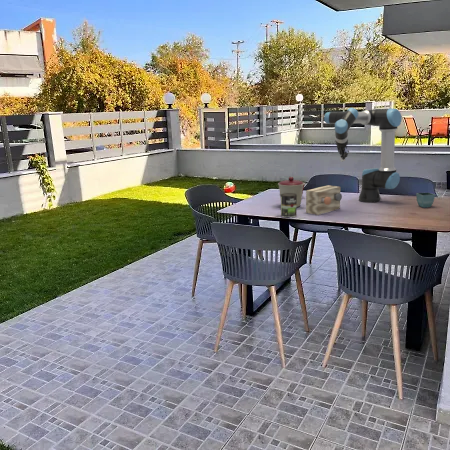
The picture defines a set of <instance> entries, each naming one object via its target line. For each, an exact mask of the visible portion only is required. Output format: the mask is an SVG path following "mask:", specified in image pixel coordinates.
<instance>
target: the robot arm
mask: <svg viewBox="0 0 450 450" xmlns="http://www.w3.org/2000/svg"><path fill="white" fill-rule="evenodd" d="M323 117H324V119H323V120H324V122H325V123H326V124H327V125H328V124H329V125H334V131H335V132H334V133H335V135H334V136H335V145H336V149H337V152H338V153H339V160H340V163H342V162H344V161H346V158H347V157H348V156H349V153H350V151H349V149H348V147H347V146H348V145H349V144H348V143H349V130H350V128H351V126H352V125H354V124H360V125H363V126H364V125H365V126H366V125H367V126H372V127H378V130H379V131H380V132H381V136H380V137H381V139H380V140H381V141H380V142H381V143H380V145H381V146H380V167H375V168H365V169H363V170H362V174H361V190H360V193H359V195H358V201H359V202H361V203H362V202H363V203H379V202H381V195H380V191H379V188H382V189H385V190H394V189H395V188H397V186H398V185H399V183H400V179H401V175H400V173H398V172H397V168H396V167H395V143H396V131H397V130H398V127H399V126H400V125H401V123H402V120H403V119H402V113H401V112H400V110H399V109H397V108H391V107H390V108H374V109H373V108H372V109H368V110H367V109H365V110H362V111H358V110H357V109H356V108H355V107H349V108H348V109H347V110H346V111H329V112H328V111H327V112H326V113H325V114H324V116H323Z"/></svg>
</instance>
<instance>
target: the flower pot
mask: <svg viewBox="0 0 450 450" xmlns="http://www.w3.org/2000/svg"><path fill="white" fill-rule="evenodd" d="M415 195H416V202H417V205H418V207H421V208H422V209H423V208H431V207H432V205H434V201H435V197H436V194H434V193H431V192H416V193H415Z"/></svg>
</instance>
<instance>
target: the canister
mask: <svg viewBox="0 0 450 450" xmlns="http://www.w3.org/2000/svg"><path fill="white" fill-rule="evenodd" d="M304 183H305V182H304V181H302V180H298V179H294V176H289V177H288V179H287V180H286V179H285V180H282V181H280V182H278V183H277V185H278V189H279V190H278V191H279V197H280V200H281V194H284V193H294V194H297V208H299V207H300V206H301V203H302V199H303V198H302V197H303V194H302V192H303V193H304V189H303V185H304ZM304 186H305V185H304Z"/></svg>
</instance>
